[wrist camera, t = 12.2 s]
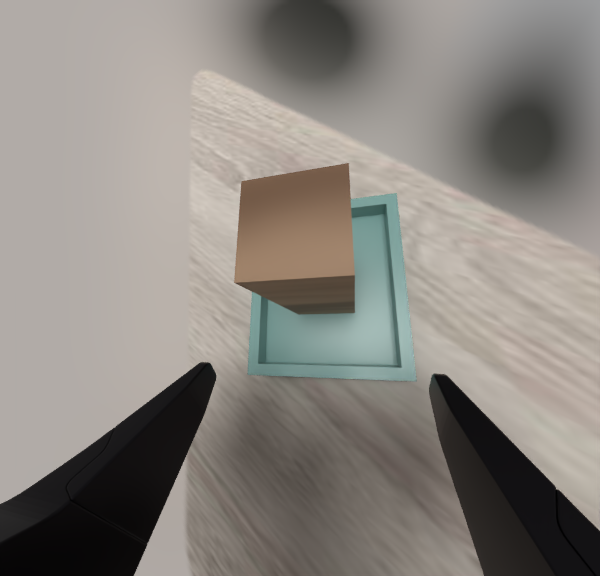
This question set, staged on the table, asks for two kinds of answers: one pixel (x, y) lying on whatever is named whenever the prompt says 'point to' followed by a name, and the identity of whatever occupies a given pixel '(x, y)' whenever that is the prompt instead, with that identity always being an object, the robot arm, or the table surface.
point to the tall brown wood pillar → (298, 240)
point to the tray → (346, 326)
